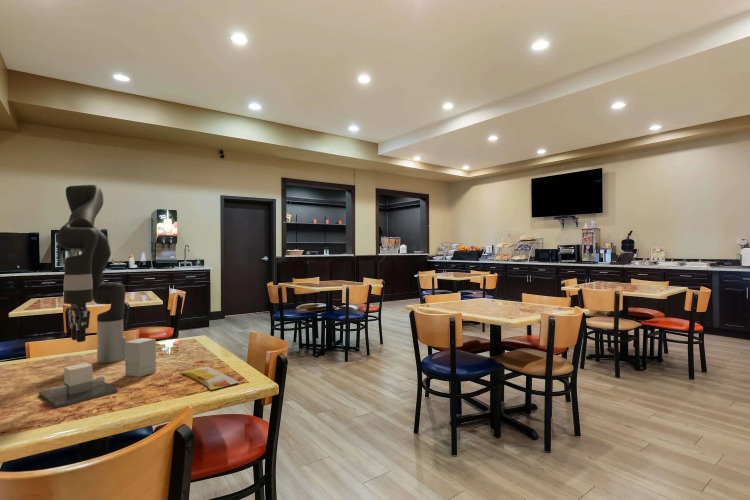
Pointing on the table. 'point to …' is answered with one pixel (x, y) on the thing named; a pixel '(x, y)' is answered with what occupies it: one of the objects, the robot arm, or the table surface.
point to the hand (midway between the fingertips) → (78, 340)
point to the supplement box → (140, 357)
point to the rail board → (62, 398)
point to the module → (78, 378)
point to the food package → (210, 377)
